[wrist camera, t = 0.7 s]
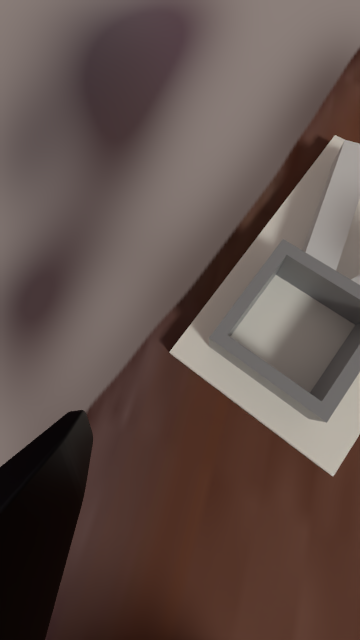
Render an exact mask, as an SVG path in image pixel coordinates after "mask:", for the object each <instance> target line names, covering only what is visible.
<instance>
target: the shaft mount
mask: <svg viewBox="0 0 360 640" xmlns="http://www.w3.org/2000/svg"><path fill="white" fill-rule="evenodd" d="M169 353H170V354H171V355H172V356H174V357H175V358H176V359H178V360H179V361H180V362H182V363H183V364H184V365H186V366H187V367H188V368H190V369H191V370H192V371H194V372H195V373H196V374H197V375H199V376H200V377H201V378H203V379H204V380H205V381H207V382H208V383H209V384H211V385H212V386H213V387H215V388H216V389H217V390H219V391H220V392H221V393H223V394H224V395H225V396H226V397H228V398H229V399H230V400H232V401H233V402H234V403H236V404H237V405H238V406H240V407H241V408H242V409H244V410H245V411H246V412H248V413H249V414H250V415H252V416H253V417H254V418H256V419H257V420H258V421H259V422H261V423H262V424H263V425H265V426H266V427H267V428H269V429H270V430H271V431H273V432H274V433H275V434H277V435H278V436H279V437H281V438H282V439H283V440H285V441H286V442H287V443H288V444H290V445H291V446H292V447H294V448H295V449H296V450H298V451H299V452H300V453H302V454H303V455H304V456H306V457H307V458H308V459H310V460H311V461H312V462H314V463H315V464H316V465H317V466H319V467H320V468H321V469H323V470H324V471H325V472H327V473H328V474H330V475H332V476H334V474H335V473H336V471H337V470H338V468H339V466H340V465H341V463H342V462H343V460H344V458H345V457H346V455H347V454H348V452H349V450H350V449H351V447H352V446H353V444H354V442H355V441H356V439H357V438H358V436H359V434H360V144H359V143H355V142H351V141H347V140H344V139H342V138H340V137H338V136H336V135H335V136H334V137H333V139H332V140H331V141H330V142H329V144H328V145H327V146H326V148H325V149H324V150H323V152H322V153H321V154H320V156H319V157H318V158H317V159H316V161H315V162H314V163H313V165H312V166H311V167H310V169H309V170H308V171H307V173H306V174H305V175H304V177H303V178H302V179H301V180H300V182H299V183H298V184H297V186H296V187H295V188H294V190H293V191H292V192H291V194H290V195H289V196H288V197H287V199H286V200H285V201H284V203H283V204H282V205H281V207H280V208H279V209H278V211H277V212H276V213H275V214H274V216H273V217H272V218H271V220H270V221H269V222H268V224H267V225H266V226H265V228H264V229H263V230H262V231H261V233H260V234H259V235H258V237H257V238H256V239H255V241H254V242H253V243H252V245H251V246H250V247H249V248H248V250H247V251H246V252H245V254H244V255H243V256H242V258H241V259H240V260H239V262H238V263H237V264H236V266H235V267H234V268H233V269H232V271H231V272H230V273H229V275H228V276H227V277H226V279H225V280H224V281H223V283H222V284H221V285H220V286H219V288H218V289H217V290H216V292H215V293H214V294H213V296H212V297H211V298H210V300H209V301H208V302H207V303H206V305H205V306H204V307H203V309H202V310H201V311H200V313H199V314H198V315H197V317H196V318H195V319H194V320H193V322H192V323H191V324H190V326H189V327H188V328H187V330H186V331H185V332H184V334H183V335H182V336H181V337H180V339H179V340H178V341H177V343H176V344H175V345H174V347H173V348H172V349H171V351H170V352H169Z"/></svg>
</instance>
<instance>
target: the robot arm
mask: <svg viewBox="0 0 360 640" xmlns="http://www.w3.org/2000/svg"><path fill="white" fill-rule="evenodd" d="M92 444H93V434H92V430H91V427H90V424H89V421H88V418H87V415H86V413H85V411H83V410H78V411H71V412H68V413H67V414H65V415H64V416H63V417H62V418H61V419H59V420H58V421H57V422H56V423H54V424H53V425H52V426H51V427H50V428H48V429H47V430H46V431H44V432H43V433H42V434H41V435H39V436H38V437H37V438H36V439H35V440H33V441H32V442H31V443H30V444H28V445H27V446H26V447H25V448H24V449H22V450H21V451H20V452H18V453H17V454H16V455H15V456H13V457H12V458H11V459H10V460H8V461H7V462H6V463H5V464H3V465H2V466H1V467H0V640H45V637H46V634H47V630H48V626H49V623H50V619H51V615H52V612H53V608H54V604H55V601H56V597H57V593H58V590H59V586H60V582H61V579H62V575H63V571H64V568H65V564H66V560H67V557H68V553H69V550H70V546H71V542H72V539H73V535H74V531H75V528H76V524H77V520H78V517H79V513H80V509H81V506H82V502H83V497H84V493H85V487H86V481H87V475H88V469H89V463H90V456H91V450H92Z"/></svg>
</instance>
